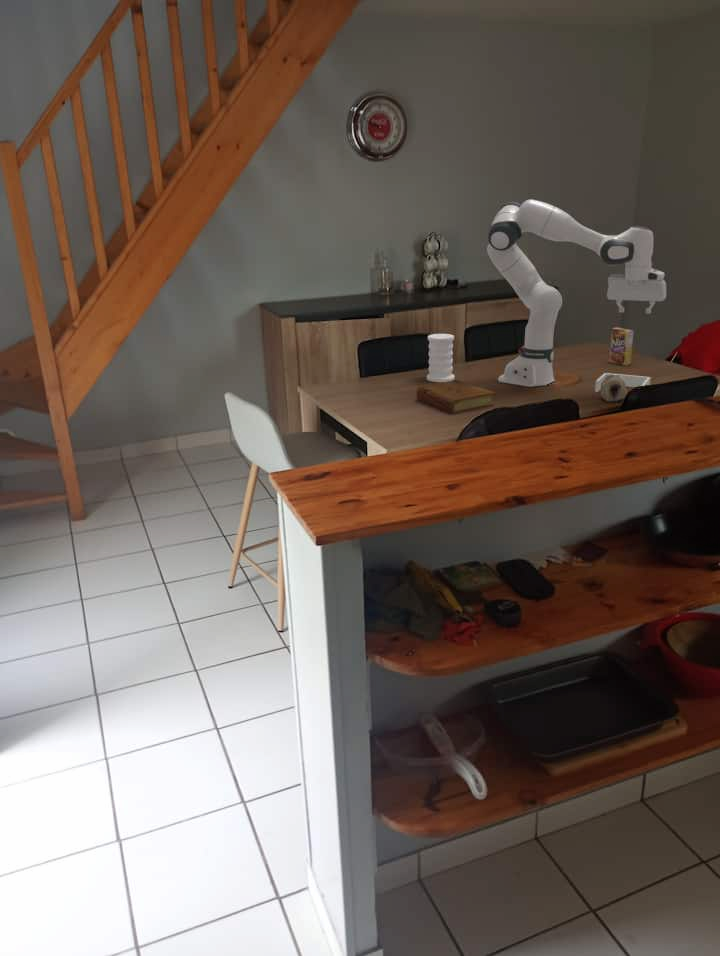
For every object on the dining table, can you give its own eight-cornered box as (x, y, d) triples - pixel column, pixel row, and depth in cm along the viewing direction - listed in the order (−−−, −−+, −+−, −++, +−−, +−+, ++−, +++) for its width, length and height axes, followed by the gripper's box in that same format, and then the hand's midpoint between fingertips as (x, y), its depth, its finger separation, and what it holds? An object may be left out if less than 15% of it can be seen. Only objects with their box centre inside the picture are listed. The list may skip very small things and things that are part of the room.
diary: (416, 401, 284) (416, 387, 282) (456, 393, 293) (456, 379, 291) (452, 415, 266) (452, 399, 263) (493, 406, 274) (493, 391, 272)
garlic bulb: (599, 404, 279) (593, 379, 278) (618, 398, 281) (612, 372, 280) (615, 403, 270) (608, 377, 269) (634, 396, 272) (627, 370, 271)
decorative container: (440, 383, 306) (440, 340, 299) (421, 378, 314) (421, 336, 307) (460, 378, 312) (460, 335, 306) (440, 374, 321) (440, 332, 314)
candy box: (608, 362, 331) (611, 328, 325) (615, 361, 333) (618, 326, 327) (623, 366, 324) (627, 331, 318) (630, 364, 325) (634, 329, 320)
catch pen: (594, 392, 286) (595, 380, 285) (603, 383, 297) (604, 372, 296) (642, 397, 278) (643, 385, 276) (649, 388, 289) (651, 377, 287)
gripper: (606, 274, 269) (603, 313, 274) (665, 275, 258) (661, 315, 263) (611, 272, 274) (608, 310, 279) (669, 273, 263) (665, 312, 268)
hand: (634, 312), depth 271 cm, fingers open, 8 cm apart
